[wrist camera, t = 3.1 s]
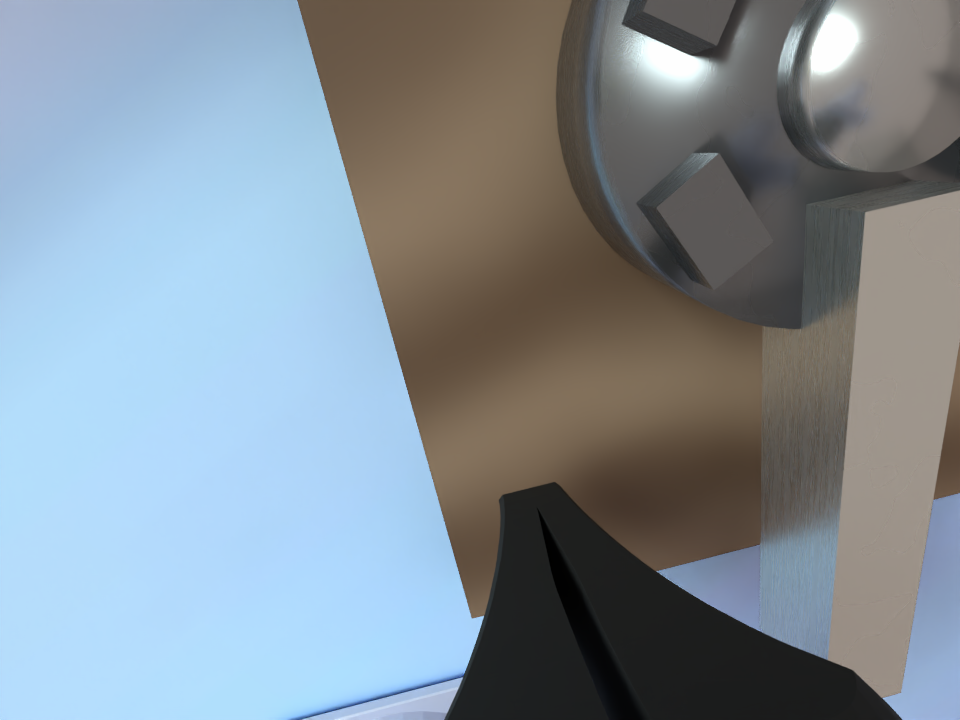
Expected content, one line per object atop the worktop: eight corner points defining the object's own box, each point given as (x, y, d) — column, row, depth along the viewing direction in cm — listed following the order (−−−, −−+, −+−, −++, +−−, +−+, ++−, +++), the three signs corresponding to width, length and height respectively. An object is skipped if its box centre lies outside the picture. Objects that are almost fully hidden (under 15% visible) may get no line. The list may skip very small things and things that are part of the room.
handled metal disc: (522, -144, 9) (601, -347, 5) (998, -236, 10) (1380, -486, 6) (620, 613, 16) (684, 752, 13) (892, 542, 17) (1034, 656, 13)
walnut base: (974, 452, 18) (1025, 478, 17) (467, 581, 17) (472, 621, 16) (1107, -218, 12) (1209, -272, 10) (289, -56, 11) (272, -89, 9)
